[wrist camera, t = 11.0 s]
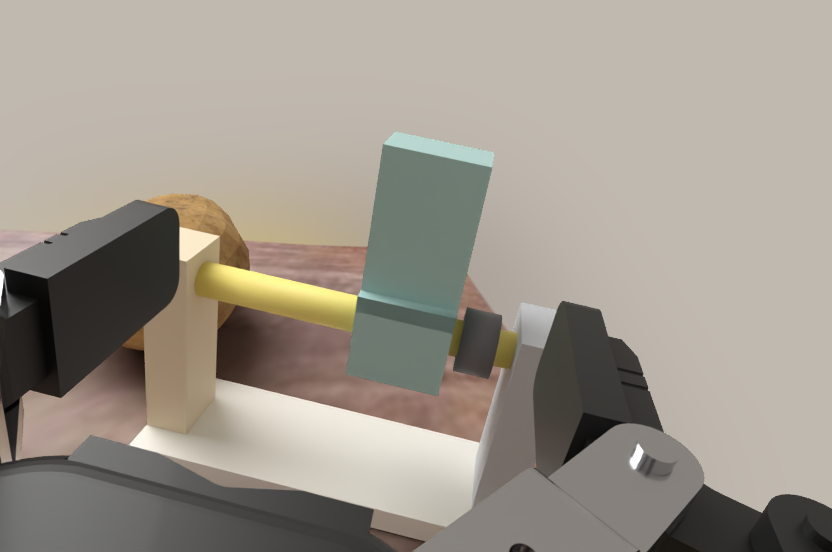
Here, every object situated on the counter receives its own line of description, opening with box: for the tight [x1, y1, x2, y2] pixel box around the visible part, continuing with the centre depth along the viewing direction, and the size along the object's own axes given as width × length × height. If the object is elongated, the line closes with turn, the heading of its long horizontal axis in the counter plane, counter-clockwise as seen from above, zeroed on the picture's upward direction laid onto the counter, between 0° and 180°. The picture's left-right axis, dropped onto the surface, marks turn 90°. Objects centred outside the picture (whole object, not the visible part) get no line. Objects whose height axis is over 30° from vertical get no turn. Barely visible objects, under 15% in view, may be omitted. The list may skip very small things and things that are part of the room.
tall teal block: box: [346, 132, 494, 396], centre depth 24 cm, size 4×4×10 cm
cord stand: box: [129, 227, 557, 542], centre depth 27 cm, size 18×6×10 cm, turn 81°
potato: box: [121, 194, 250, 350], centre depth 36 cm, size 10×14×8 cm
